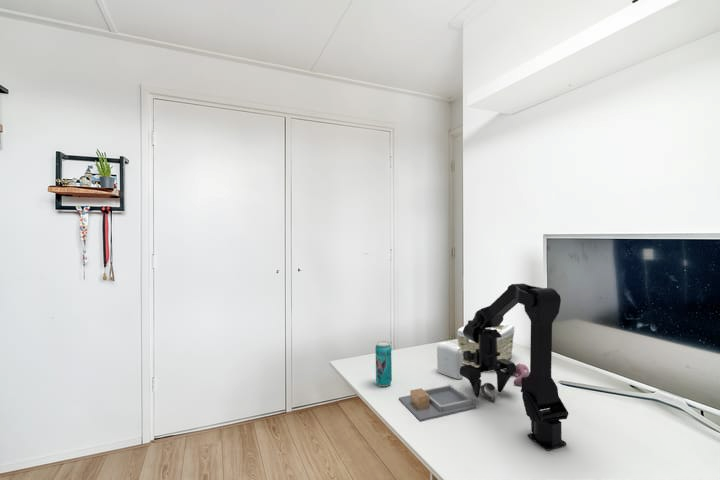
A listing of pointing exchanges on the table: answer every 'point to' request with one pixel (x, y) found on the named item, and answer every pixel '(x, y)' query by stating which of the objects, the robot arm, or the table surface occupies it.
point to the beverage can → (383, 363)
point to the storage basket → (502, 343)
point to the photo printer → (449, 359)
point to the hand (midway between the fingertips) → (488, 394)
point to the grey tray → (436, 402)
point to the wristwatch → (490, 389)
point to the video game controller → (520, 373)
